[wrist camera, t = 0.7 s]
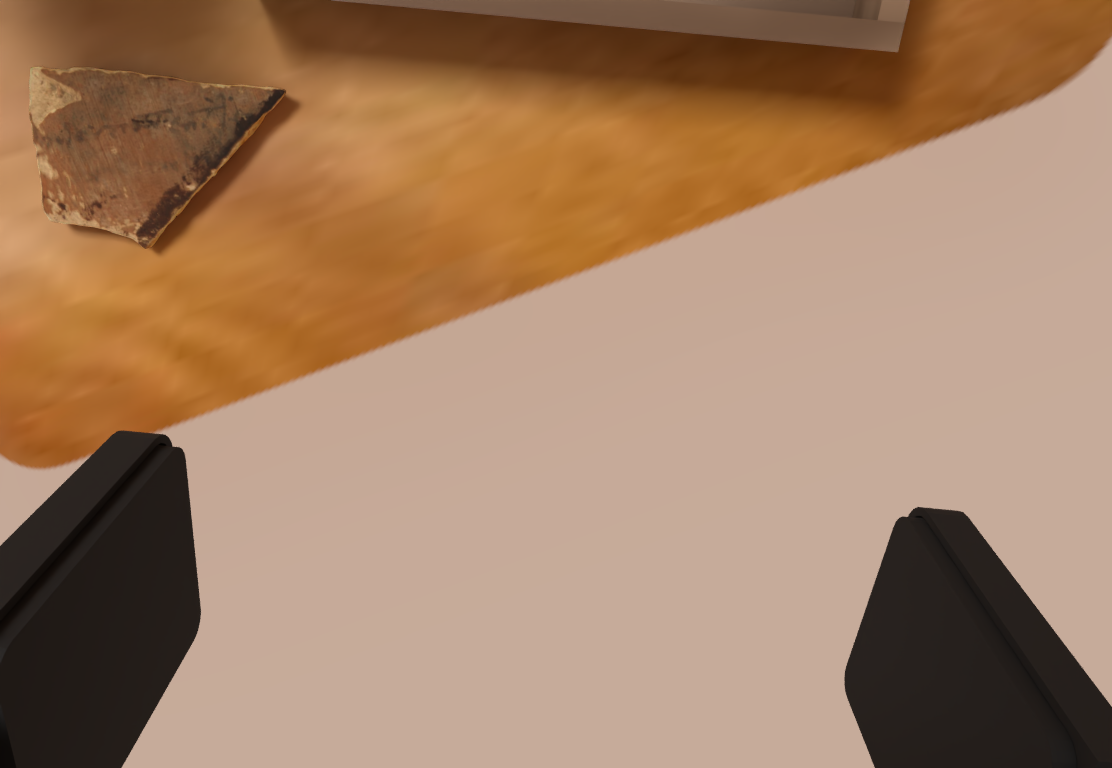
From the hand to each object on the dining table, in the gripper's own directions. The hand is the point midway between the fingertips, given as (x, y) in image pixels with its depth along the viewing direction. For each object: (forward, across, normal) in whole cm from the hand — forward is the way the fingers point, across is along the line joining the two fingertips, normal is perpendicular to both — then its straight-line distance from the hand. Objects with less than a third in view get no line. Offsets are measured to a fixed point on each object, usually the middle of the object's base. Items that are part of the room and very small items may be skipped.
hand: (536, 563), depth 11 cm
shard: (+29, +18, 0) cm, 35 cm away
